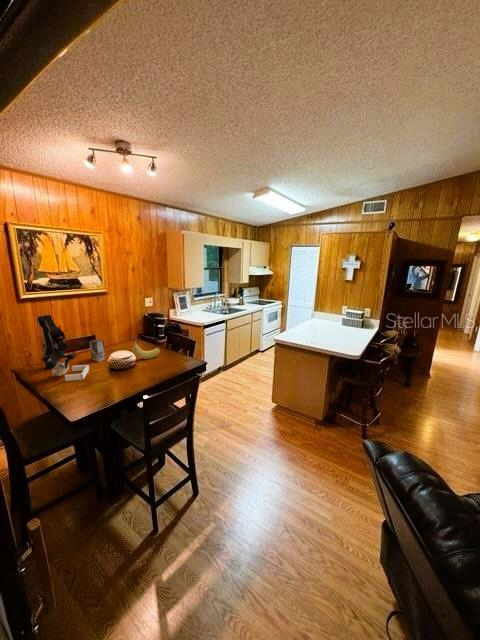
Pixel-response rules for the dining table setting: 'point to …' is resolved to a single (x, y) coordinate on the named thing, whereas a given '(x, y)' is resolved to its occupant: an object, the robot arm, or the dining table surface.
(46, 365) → the robot arm
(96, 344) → the coffee box
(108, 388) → the dining table surface
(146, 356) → the banana
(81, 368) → the beige u-shaped block
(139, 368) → the dining table surface
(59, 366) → the crate with rolls
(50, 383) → the dining table surface
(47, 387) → the dining table surface
